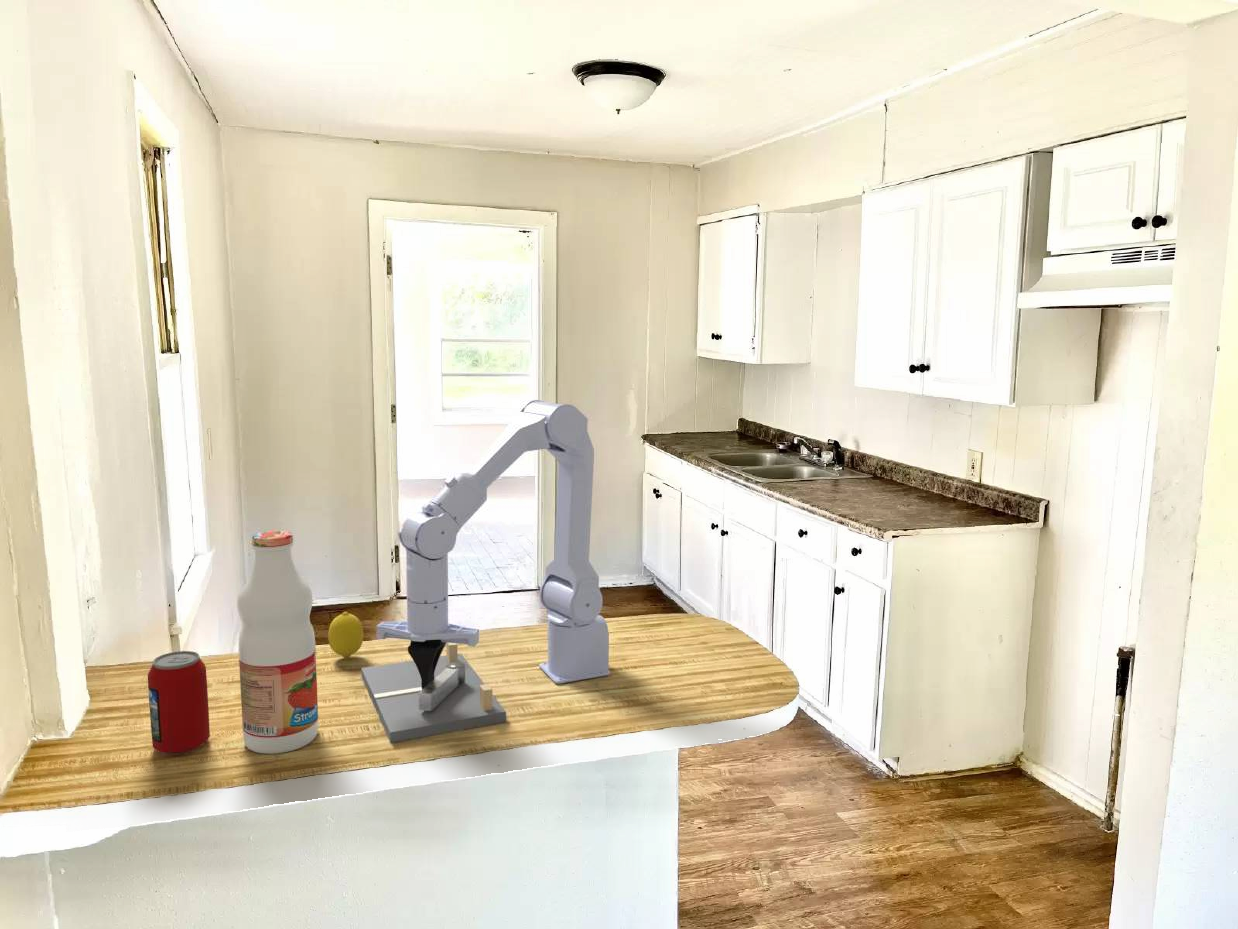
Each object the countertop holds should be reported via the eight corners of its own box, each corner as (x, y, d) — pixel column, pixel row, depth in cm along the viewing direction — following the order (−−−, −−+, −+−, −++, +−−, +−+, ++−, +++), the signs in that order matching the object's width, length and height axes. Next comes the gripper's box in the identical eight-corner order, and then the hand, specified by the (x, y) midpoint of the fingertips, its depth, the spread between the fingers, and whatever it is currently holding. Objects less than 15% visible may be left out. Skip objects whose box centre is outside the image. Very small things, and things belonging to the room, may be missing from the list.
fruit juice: (251, 726, 119) (240, 527, 114) (322, 720, 121) (315, 525, 116) (236, 759, 110) (224, 544, 105) (314, 752, 112) (305, 542, 107)
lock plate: (461, 662, 143) (460, 636, 142) (506, 721, 121) (505, 691, 121) (361, 677, 136) (360, 649, 135) (390, 743, 114) (389, 711, 114)
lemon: (353, 666, 140) (352, 619, 139) (322, 663, 141) (320, 616, 140) (370, 653, 146) (368, 608, 144) (340, 651, 147) (338, 605, 145)
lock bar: (451, 676, 132) (450, 661, 131) (468, 678, 131) (468, 663, 131) (415, 709, 120) (415, 692, 120) (434, 711, 120) (434, 694, 119)
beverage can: (166, 734, 116) (160, 649, 114) (218, 733, 116) (213, 648, 115) (143, 759, 109) (136, 669, 107) (198, 758, 110) (192, 668, 108)
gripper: (366, 602, 119) (368, 695, 121) (467, 610, 117) (467, 704, 119) (387, 588, 126) (389, 676, 128) (483, 594, 124) (483, 684, 126)
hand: (428, 689), depth 124 cm, fingers closed, pressing on lock bar
